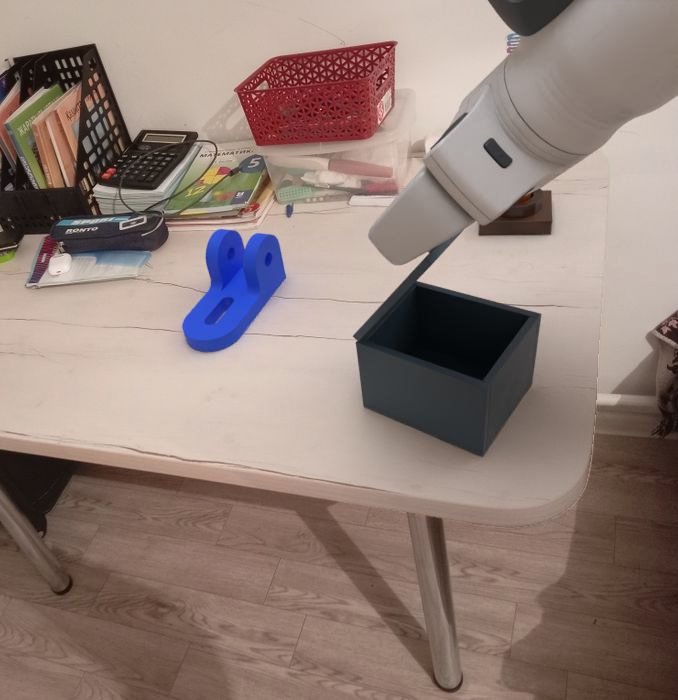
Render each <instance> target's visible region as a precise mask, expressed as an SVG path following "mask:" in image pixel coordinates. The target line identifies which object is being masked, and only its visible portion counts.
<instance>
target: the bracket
mask: <svg viewBox="0 0 678 700" xmlns="http://www.w3.org/2000/svg"><path fill="white" fill-rule="evenodd" d="M205 264H206V269H207V271H208V275H209V278H210V279H209V280H210V285H209V288H208V290H207V291H206V292H205V294H204V295H203V296H202V297H201V298H200V300H199V301H198V302H197V303H196V304H195V305H194V307H193V308H192V309H191V310H190V311H189V313H187V314H186V316H185V318H184V319H183V321H182V325H181V327H182V331H183V335H184V337H185V341H186V342H187V344H188V345H189V347H190V348H191V349H193V350H196V351H199V352H203V353H205V352H206V353H210V352H211V353H213V352H218V351H221V350H224V349H226V348H228V347H230V346H232V345H233V344H235V343H236V342H237V341H238V340H240V339H241V337H242V336H243V334H245V332H246V331H247V329H248V328H249V326H250V325H251V324H252V323H253V321H254V320H255V319H256V317H257V316H258V315H259V313H260V312H261V311H262V309H263V308H264V307H265V306H266V304H267V303H268V302H269V300H270V299H271V298H272V297H273V295H274V294H275V293H276V291H277V290H278V288H279V287H280V286H281V285H282V283H283V282H284V281H285V279H286V278H287V274H286V270H285V263H284V260H283V253H282V249H281V244H280V241H279V239H278V237H277V236H276V235H274V234H270V233H263V232H262V233H260V232H257V233H254V234H252V235H251V236H250V238H249V239H248V240H247V243H246V245H244V240H243V238H242V235H241V234H240V233H239V231H237V230H233V229H227V228H226V229H225V228H219V229H216V230H215V231H214V232H213V233H212V234H211V235H210V237H209V239H208V241H207V245H206V249H205Z"/></svg>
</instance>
